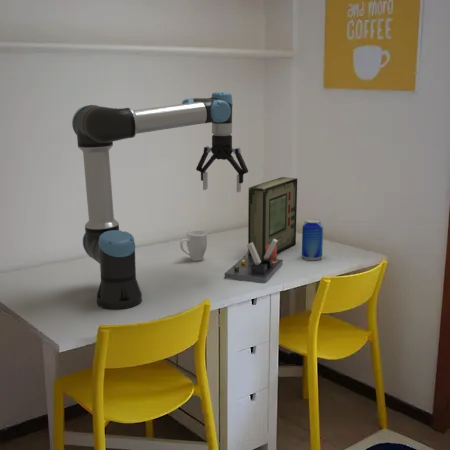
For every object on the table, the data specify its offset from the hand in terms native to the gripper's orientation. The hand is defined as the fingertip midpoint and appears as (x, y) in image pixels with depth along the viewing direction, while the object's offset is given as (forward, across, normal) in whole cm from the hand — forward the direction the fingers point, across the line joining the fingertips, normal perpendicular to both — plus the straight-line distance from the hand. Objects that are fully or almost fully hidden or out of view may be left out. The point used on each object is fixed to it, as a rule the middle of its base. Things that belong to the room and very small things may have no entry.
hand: (221, 190), depth 240 cm
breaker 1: (+26, -17, +5) cm, 32 cm away
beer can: (+31, -30, -27) cm, 51 cm away
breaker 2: (+26, -17, -3) cm, 31 cm away
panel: (+31, -13, -2) cm, 34 cm away
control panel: (+31, -12, -31) cm, 46 cm away
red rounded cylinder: (+29, -17, -11) cm, 35 cm away
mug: (+32, +15, -7) cm, 36 cm away
